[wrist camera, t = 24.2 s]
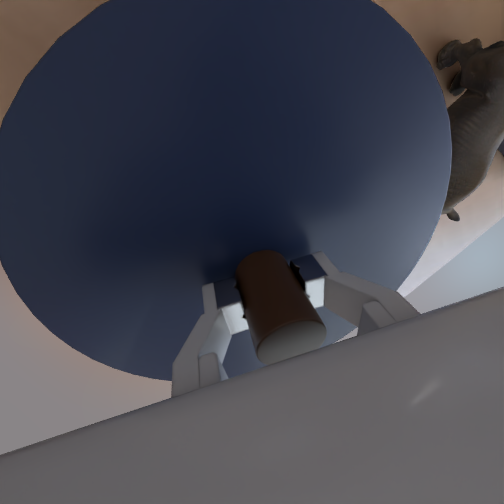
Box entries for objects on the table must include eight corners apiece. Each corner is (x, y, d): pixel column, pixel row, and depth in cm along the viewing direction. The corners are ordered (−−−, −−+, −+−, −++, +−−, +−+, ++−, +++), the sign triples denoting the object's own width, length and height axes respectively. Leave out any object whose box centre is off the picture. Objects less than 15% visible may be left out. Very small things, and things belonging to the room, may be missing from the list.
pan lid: (-212, 52, 5) (-1412, -42, 1) (507, -71, 7) (933, -272, 3) (148, 395, 17) (139, 492, 13) (388, 315, 19) (445, 379, 15)
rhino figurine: (373, 220, 24) (421, 254, 19) (435, 39, 16) (543, 21, 11) (407, 216, 25) (461, 248, 20) (483, 41, 17) (602, 26, 12)
